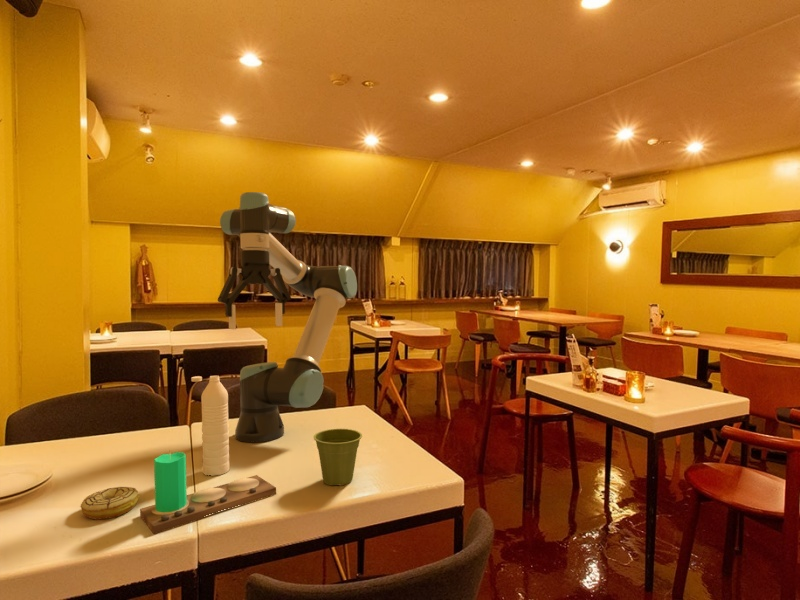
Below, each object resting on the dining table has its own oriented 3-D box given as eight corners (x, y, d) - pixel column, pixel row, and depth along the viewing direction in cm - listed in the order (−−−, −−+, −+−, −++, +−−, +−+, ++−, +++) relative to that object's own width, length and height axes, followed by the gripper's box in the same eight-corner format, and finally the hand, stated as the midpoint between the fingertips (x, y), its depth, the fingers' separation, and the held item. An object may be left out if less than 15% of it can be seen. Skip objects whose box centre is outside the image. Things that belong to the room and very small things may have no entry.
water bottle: (229, 465, 128) (227, 372, 127) (229, 474, 122) (227, 377, 121) (194, 469, 125) (192, 375, 125) (192, 479, 119) (190, 379, 118)
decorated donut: (113, 497, 110) (112, 480, 110) (149, 503, 107) (149, 486, 107) (69, 518, 100) (68, 500, 100) (107, 525, 97) (107, 507, 97)
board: (140, 515, 100) (139, 505, 100) (256, 480, 118) (256, 472, 118) (153, 533, 93) (153, 523, 93) (276, 493, 110) (275, 485, 110)
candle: (192, 499, 104) (191, 445, 103) (176, 513, 98) (175, 455, 97) (166, 498, 104) (164, 444, 104) (149, 511, 98) (147, 454, 98)
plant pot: (349, 493, 110) (348, 445, 110) (304, 486, 114) (304, 440, 114) (370, 474, 121) (369, 430, 121) (328, 468, 125) (328, 426, 125)
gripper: (214, 247, 120) (216, 331, 120) (302, 251, 136) (303, 325, 137) (203, 248, 125) (205, 329, 126) (289, 252, 142) (290, 323, 142)
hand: (256, 327), depth 131 cm, fingers open, 13 cm apart
